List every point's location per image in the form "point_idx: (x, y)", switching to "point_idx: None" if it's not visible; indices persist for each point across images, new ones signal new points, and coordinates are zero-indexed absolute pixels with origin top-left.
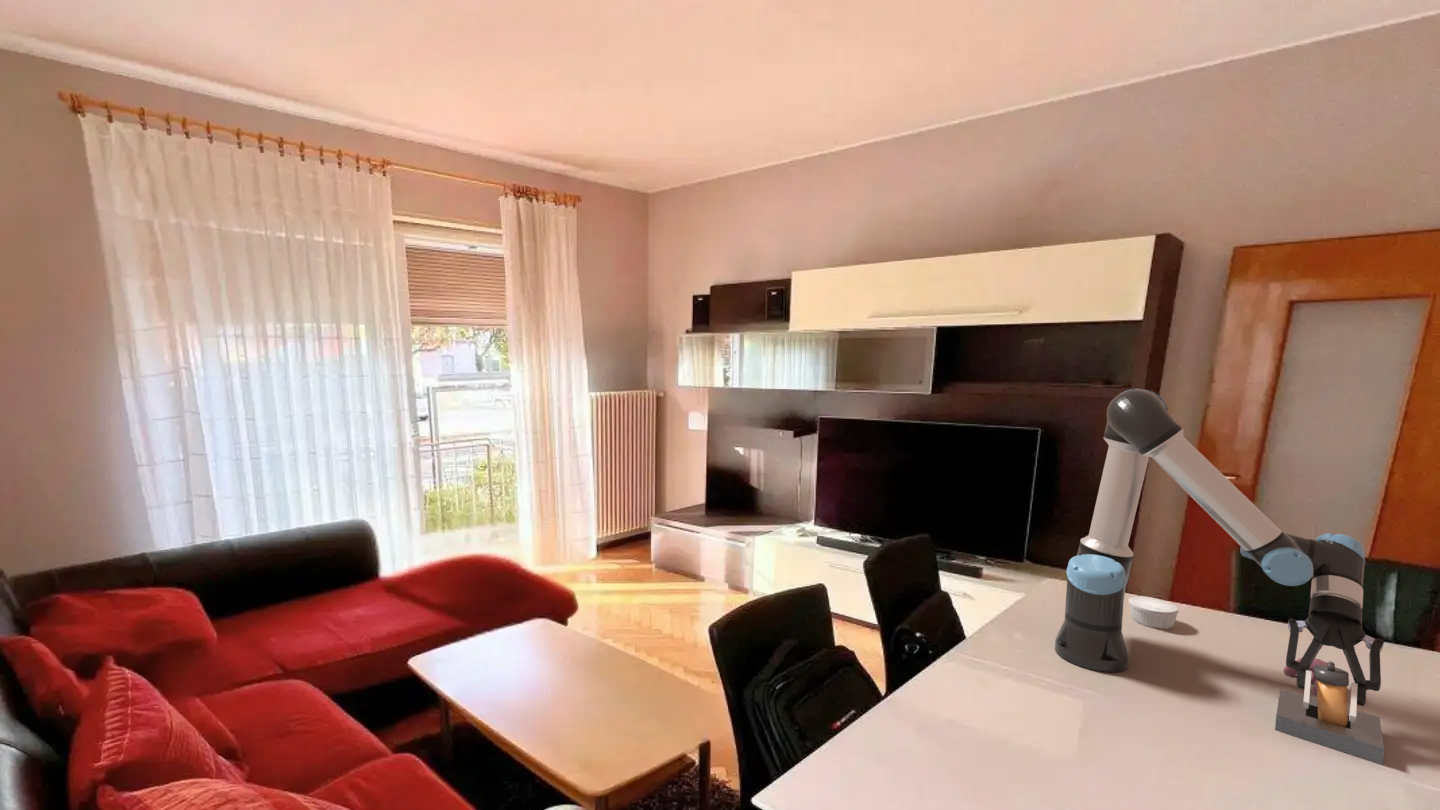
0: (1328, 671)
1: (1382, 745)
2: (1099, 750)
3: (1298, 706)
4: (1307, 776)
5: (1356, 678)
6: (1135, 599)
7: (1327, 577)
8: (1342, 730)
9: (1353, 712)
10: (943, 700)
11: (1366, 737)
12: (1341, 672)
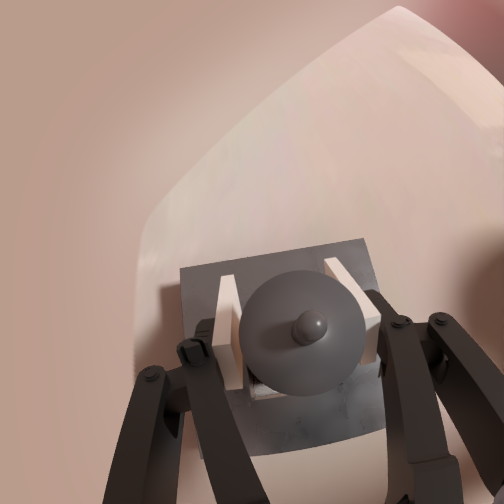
0: (310, 305)
1: (182, 283)
2: (399, 65)
3: None
4: (271, 142)
5: (214, 365)
6: None
7: None
8: (251, 287)
9: (226, 280)
10: (476, 70)
11: (209, 297)
12: (266, 337)
